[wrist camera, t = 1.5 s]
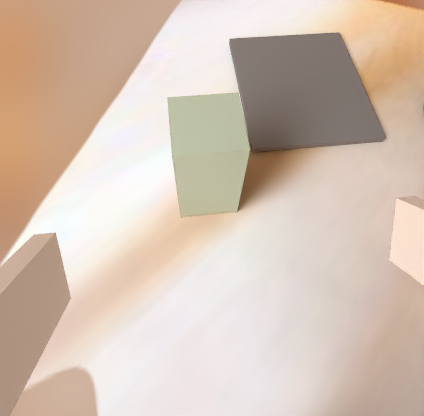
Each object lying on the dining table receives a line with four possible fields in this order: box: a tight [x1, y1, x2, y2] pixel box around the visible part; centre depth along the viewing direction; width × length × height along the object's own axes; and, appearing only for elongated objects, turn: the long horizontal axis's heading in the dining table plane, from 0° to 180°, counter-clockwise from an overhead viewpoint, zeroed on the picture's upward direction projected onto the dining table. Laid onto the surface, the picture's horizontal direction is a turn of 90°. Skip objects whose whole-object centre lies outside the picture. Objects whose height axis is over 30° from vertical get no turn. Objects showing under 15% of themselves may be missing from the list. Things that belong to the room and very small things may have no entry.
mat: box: [229, 33, 385, 152], centre depth 43 cm, size 16×19×1 cm
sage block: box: [168, 93, 250, 218], centre depth 31 cm, size 6×6×11 cm
